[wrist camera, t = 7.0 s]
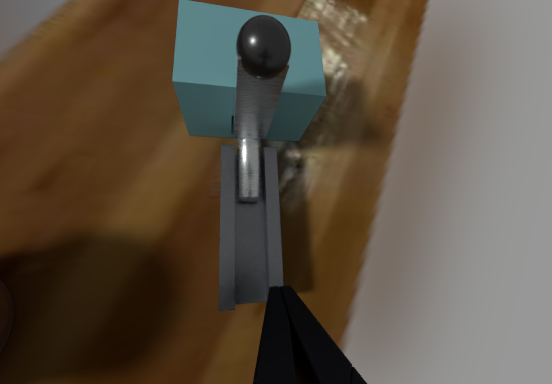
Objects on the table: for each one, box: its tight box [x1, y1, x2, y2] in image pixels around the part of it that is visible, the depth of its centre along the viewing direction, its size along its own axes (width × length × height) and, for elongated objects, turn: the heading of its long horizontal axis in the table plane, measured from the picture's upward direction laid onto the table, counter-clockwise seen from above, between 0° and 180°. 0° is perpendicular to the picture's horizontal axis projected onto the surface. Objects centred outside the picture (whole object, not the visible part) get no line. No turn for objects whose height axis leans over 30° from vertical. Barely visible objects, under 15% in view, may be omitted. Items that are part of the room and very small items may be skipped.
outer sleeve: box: [219, 145, 284, 311], centre depth 22 cm, size 14×5×3 cm, turn 3°
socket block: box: [172, 0, 327, 141], centre depth 23 cm, size 8×12×8 cm, turn 93°
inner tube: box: [234, 15, 291, 202], centre depth 18 cm, size 12×3×13 cm, turn 3°
